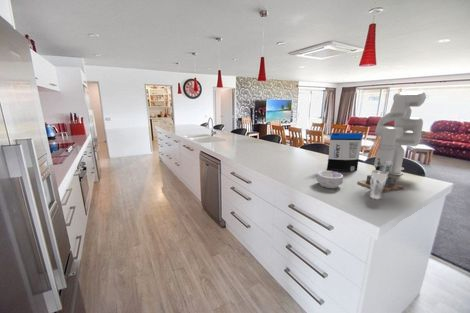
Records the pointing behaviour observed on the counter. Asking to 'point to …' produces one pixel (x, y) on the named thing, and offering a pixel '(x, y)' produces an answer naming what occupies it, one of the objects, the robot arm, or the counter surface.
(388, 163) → the syrup box
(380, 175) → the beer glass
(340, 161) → the protein powder
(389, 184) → the holder
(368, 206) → the counter surface
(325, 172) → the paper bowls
